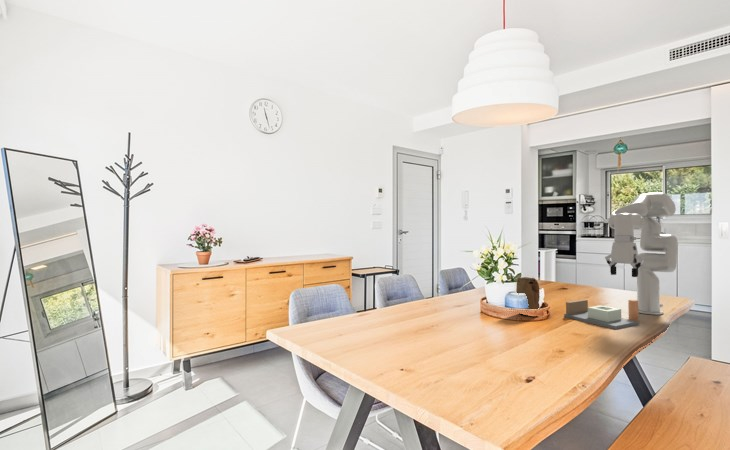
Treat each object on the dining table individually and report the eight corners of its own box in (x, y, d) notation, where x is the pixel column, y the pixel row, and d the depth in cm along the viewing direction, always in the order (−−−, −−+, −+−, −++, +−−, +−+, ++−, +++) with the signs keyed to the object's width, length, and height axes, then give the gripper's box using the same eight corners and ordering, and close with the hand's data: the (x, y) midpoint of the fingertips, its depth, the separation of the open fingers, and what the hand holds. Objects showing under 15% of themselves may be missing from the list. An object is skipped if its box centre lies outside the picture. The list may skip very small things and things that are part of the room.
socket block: (601, 315, 191) (600, 305, 191) (621, 319, 182) (621, 309, 182) (587, 317, 186) (587, 307, 186) (608, 322, 177) (607, 311, 177)
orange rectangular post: (631, 319, 187) (631, 299, 187) (640, 321, 184) (640, 300, 183) (626, 320, 185) (626, 300, 185) (635, 322, 182) (635, 301, 182)
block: (515, 314, 202) (514, 277, 202) (524, 312, 206) (523, 275, 206) (532, 318, 193) (532, 279, 193) (542, 316, 196) (541, 278, 196)
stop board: (586, 313, 202) (585, 299, 202) (638, 324, 178) (638, 308, 178) (564, 316, 195) (564, 302, 195) (615, 329, 171) (615, 312, 171)
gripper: (648, 239, 172) (648, 277, 171) (610, 239, 187) (610, 273, 187) (638, 239, 169) (638, 278, 168) (600, 239, 184) (600, 274, 184)
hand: (623, 275), depth 178 cm, fingers open, 9 cm apart
